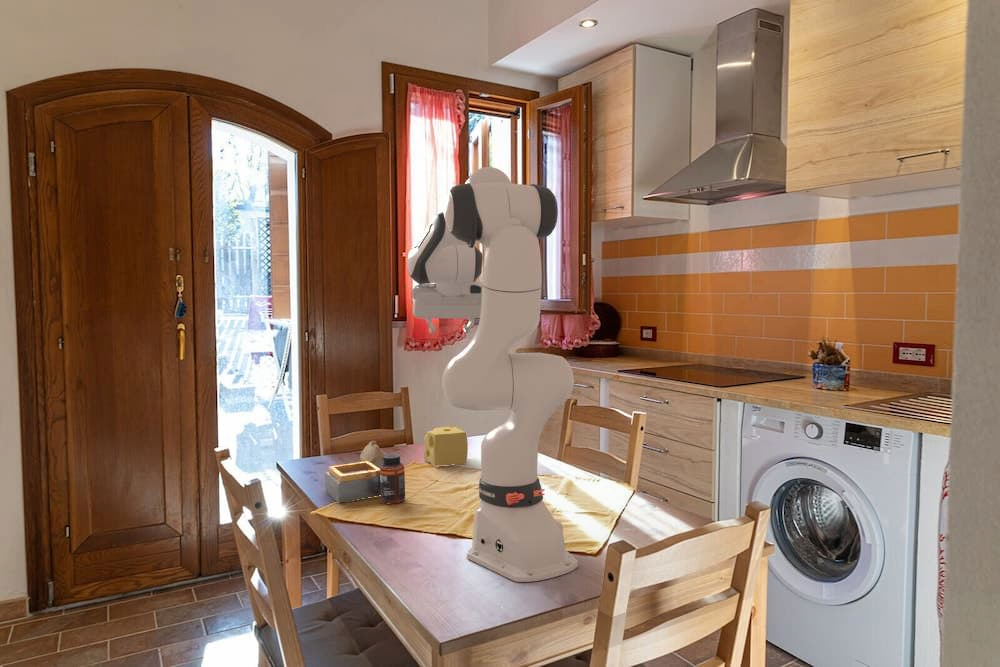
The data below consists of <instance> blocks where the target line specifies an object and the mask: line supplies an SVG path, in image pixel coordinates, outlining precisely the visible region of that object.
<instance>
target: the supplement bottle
mask: <svg viewBox="0 0 1000 667" xmlns="http://www.w3.org/2000/svg"><path fill="white" fill-rule="evenodd" d="M405 475H406V474H405V465H404V464H403V463H401V456H400V454H397V453H396V454H395V453H391V454H387V455H385V456H384V463H383V465H381V467H380V484H381V497H380V501H381V503H383V502H384V503H383V504H385V503H390V504H389V505H394V504H393V503H398V504H400V503H399V502H401V503H403V502H405V500H406V481H405V480H406V479H405V477H406V476H405ZM402 501H403V502H402Z"/></svg>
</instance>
